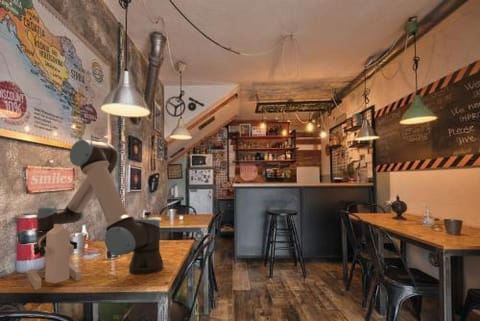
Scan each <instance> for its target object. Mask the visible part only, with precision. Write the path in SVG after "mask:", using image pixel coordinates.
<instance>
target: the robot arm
mask: <svg viewBox="0 0 480 321" xmlns="http://www.w3.org/2000/svg"><path fill="white" fill-rule="evenodd" d="M69 160H70V162H71V164H73V165H74V166H76V167H79V168H80V171H81V173H82V174H83V175H86V177H85V178H84V180H83V181H82V183H81V185H80V186H79V188H78V189H77V191H76V192H75V193H74V194H73V196H72V197H71V199H70V201H69V202H68V203H67V205H66V206H65V208H61V209H57V206H54V205H53V206H51V205H50V206H49V205H47V206H39V207H38V210H37V214H36V215H37V216H36V219H37V220H36V222H37V223H36V226H37V227H36V236H37V244H36V243H35V244H33V253H34V255H35V256H37V255H39V256H40V257H44V256H45V258H46V257H49V249H48V248H47V247H46V233H47V232H49V231H50V230H51V229H53V228H54V224H62V225H66V224H73V223H74V224H76V223H78V222H80V221H81V220H82V219H83V218H84V211H83V210H84V209H85V208H86V207H87V205H88V203H90V200H91V199H92V198H93V196H94V195H95V197H96V198H97V201H98V203H99V206H100V208H101V211H102V213H103V215H104V217H105V219H106V223H107V225H106V227H105V230H106V233H105V235H104V245H105V248H106V249H107V250H108V251H109V252H110V253H111V254H112V255H115V256H124V255H129V254H131V253H132V256H131V260H130V262H129V265H128V272H129V273H131V274H133V275H147V274H153V273H157V272H160V271H162V270H163V269H164V261H163V258H162V255H161V251H160V248H161V247H160V243H161V241H160V237H161V236H160V235H161V234H160V233H161V232H160V231H161V230H160V229H161V226H160V220H158V219H155V218H154V219H152V218H151V219H149V218H148V219H147V218H146V219H145V218H144V219H143V218H134V216H133V215H130V214H128V212H127V211H128V210H126V206H125V205H124V203H123V200H122V198H121V196H120V193H119V192H118V189H117V187H116V184H115V182H114V180H113V177H112V176H111V174H112V172H113V171H114V170H115V168H116V166H117V163H118V160H119V154H118V150H117V149H116V148H115V147H114V146H113V145H112V144H110V143H107V142H101V141H95V140H90V139H79V140H78V141H76V142H74V144H72V147H71V149H70V151H69ZM38 231H42V232H38ZM77 249H78V242H76V241H72V240H71V239H70V254H74V252H75V250H77Z"/></svg>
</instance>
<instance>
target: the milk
mask: <svg viewBox="0 0 480 321" xmlns="http://www.w3.org/2000/svg"><path fill="white" fill-rule="evenodd" d="M64 225H65V224H54V228H53V229H51V230H50V231H49V232H47V233H46V247H47V248H48V249H49V257H46V256H45V272H44V273H45V278H44V280H45V282H46V283H50V284H51V283H52V284H57V283H60V282H63V281H67V280H69V279H70V275H69V263H71V261H70V260H71V259H70V256H71V252H70V240H71V231H70V230H68V229H66V228H64Z"/></svg>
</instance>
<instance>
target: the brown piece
mask: <svg viewBox="0 0 480 321" xmlns="http://www.w3.org/2000/svg"><path fill="white" fill-rule="evenodd" d="M69 277H71V278H72V280H75V282H79V281H82V270H81V269H79V268H78V267H77V266H75V265H74V264H73V263H72V262H70V263H69ZM43 278H44V279H45V272H44V273H39V274H38V272H37V270H36V269H35V268H30V269H28V271H27V279H28V280H29V282H30V284H31V286H32V288H33V289H34V290H35V291H37V290H41V289H42V281H43Z"/></svg>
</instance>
